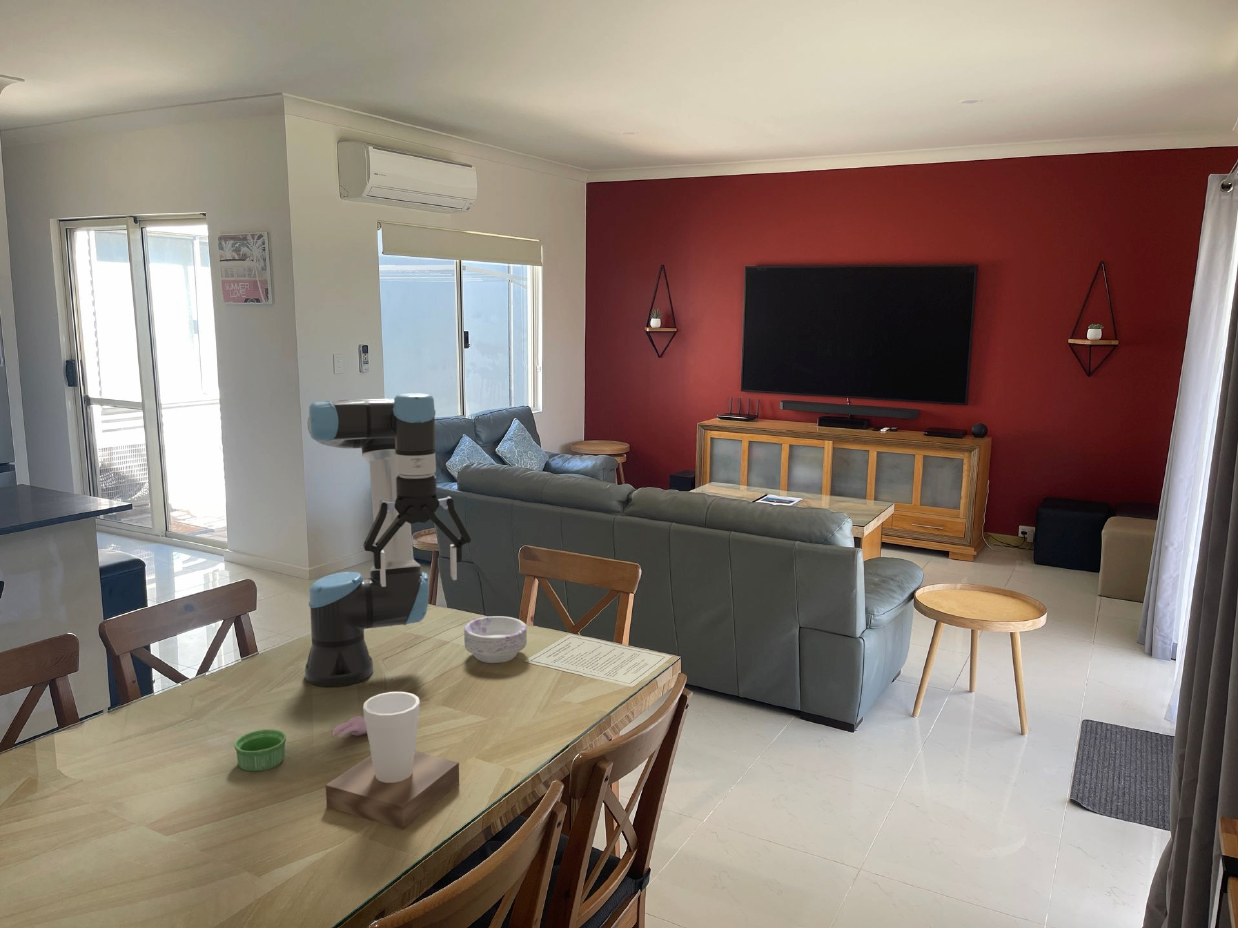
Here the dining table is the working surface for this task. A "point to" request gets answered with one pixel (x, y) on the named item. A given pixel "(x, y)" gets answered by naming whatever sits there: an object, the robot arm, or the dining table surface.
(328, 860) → the dining table surface
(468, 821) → the dining table surface
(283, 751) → the ramekin
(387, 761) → the foam cup
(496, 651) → the white bowl
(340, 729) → the rabbit figure
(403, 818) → the walnut base
